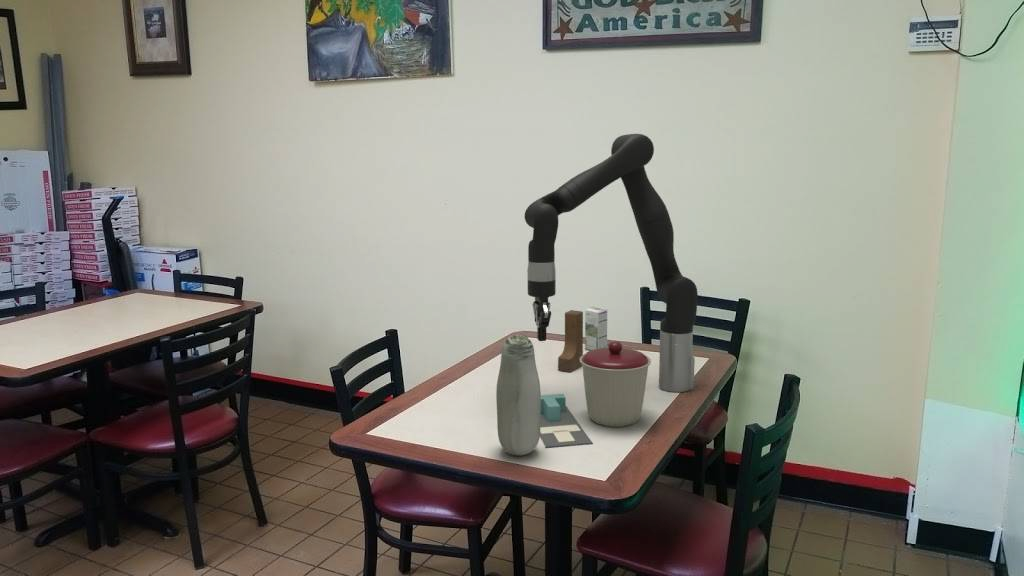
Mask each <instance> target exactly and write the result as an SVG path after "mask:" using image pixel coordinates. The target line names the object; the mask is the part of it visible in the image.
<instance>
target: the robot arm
mask: <svg viewBox="0 0 1024 576" xmlns="http://www.w3.org/2000/svg"><path fill="white" fill-rule="evenodd" d="M654 147H655V146H654V143H653V141H652V139H650V137H648V136H647V135H645V134H642V133H630V134H628V133H627V134H623V135H619V136H618V137H616V138H615V139H614V141H613V142H612V146H611V148H610V149H611V152H610V154H611V155H610V156H609V157H608V158H606V159H604V160H603V161H601V162H600V163H598V164H596V165H594V166H593V167H590V168H589V169H585V170H584V171H582V172H581V173H578V174H577V175H575V176H574V177H572V178H570V179H569V180H567V182H565V183H564V184H562V185H561V186H560V187H558V188H557V189H556V190H554V191H552V192H549V193H547V194H545V195H544V196H541V197H539V198H538V199H536V200H534V201H533V202H531V203H530V204H529V205H528V206H527V208H526V209H525V212H524V220H525V222H526V224H527V225H528V227H529V228H532V229H533V230H532V231H533V232H532V239H531V240H530V241H529V243H528V246H527V247H528V250H527V254H528V255H527V257H528V258H527V260H528V262H527V272H526V273H527V295H528V296H529V297H531V298H534V301H533V302H532V309H533V315H534V322H535V326H536V327H537V328H536V329H537V331H536V333H537V336H536V337H537V341H539V342H546V341H547V328H548V327H549V325H550V321H551V317H552V311H551V302H549V298H550V297H554V296H555V295H556V289H557V288H556V279H557V278H556V275H557V273H556V263H555V255H556V254H555V243H556V239H557V235H558V230H559V216H560V215H561V214H564V213H570V212H572V211H573V210H575V209H576V208H578V207H579V206H581V205H582V204H584V203H585V202H586V201H588V200H589V199H590V198H592V197H594V195H596V194H597V193H599V192H600V191H602V190H603V189H604V188H606V187H608V186H609V185H610V184H612V183H613V182H615V181H617V180H619V179H621V181H622V183H623V186H624V189H625V191H626V195H627V198H628V201H629V205H630V207H631V210H632V213H633V217H634V219H635V223H636V226H637V227H636V228H637V229H638V230H637V231H638V234H639V235H640V238H641V240H642V243H643V246H644V249H645V252H646V255H647V258H648V259H649V262H650V266H651V269H652V273H653V278H654V283H655V288H656V292H657V295H658V297H659V299H660V300H661V301H662V303H664V304H666V305H665V306H666V308H665V317H664V318H662V319H661V321H660V324H659V325H660V326H659V360H658V361H659V363H658V364H659V367H658V368H659V369H658V370H659V371H658V388H660V389H661V390H662V391H665V392H672V393H681V392H682V393H683V392H688V391H690V390H695V389H694V388H695V362H696V360H695V359H696V358H695V357H694V356H693V341H694V340H693V337H694V336H693V335H694V334H693V333H694V332H693V331H694V325H695V322H696V321H697V320H696V319H697V312H698V311H697V310H698V297H699V296H698V295H699V294H698V287H697V285H696V284H695V281H693V280H692V279H691V278H689V277H686V276H683V274H682V273H681V271H680V268H679V266H678V263H677V260H676V257H675V252H674V245H675V243H674V242H675V241H674V240H675V239H674V236H675V234H674V227H673V223H672V220H671V217H670V213H669V211H668V208H667V206H666V204H665V202H664V201H663V199H662V198H661V196H660V195H659V193H658V192H657V191H656V189H655V187H654V185H652V183H651V182H650V180H649V177H648V175H647V171H646V168H645V166H646V165H647V164H649V163H650V162H651V160H652V158H653V156H654V152H655V148H654Z"/></svg>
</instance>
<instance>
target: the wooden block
mask: <svg viewBox="0 0 1024 576" xmlns="http://www.w3.org/2000/svg"><path fill="white" fill-rule="evenodd" d="M583 323H584V311H582V310H575V309H573V310H572V309H571V310H568V311H566V312H565V313H564V347H563V350H562V352H561V354H560V355H559V356H558V357H557V370H558V371H559V372H564V373H571V372H574V371H575V370H577V369H578V368H581V367H582V364H581V363H580V357H581V356H582V355H584V324H583Z"/></svg>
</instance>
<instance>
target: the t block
mask: <svg viewBox="0 0 1024 576" xmlns="http://www.w3.org/2000/svg"><path fill="white" fill-rule="evenodd" d="M566 399H567V398H566V396H565V395H564V393H555V394H544V395H543V394H541V410H540V414H543V413H544V415H545V417H546V418H547V420H548V421H549V422H550V421H560V412H566V406H567V405H566V403H567V402H566Z"/></svg>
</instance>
